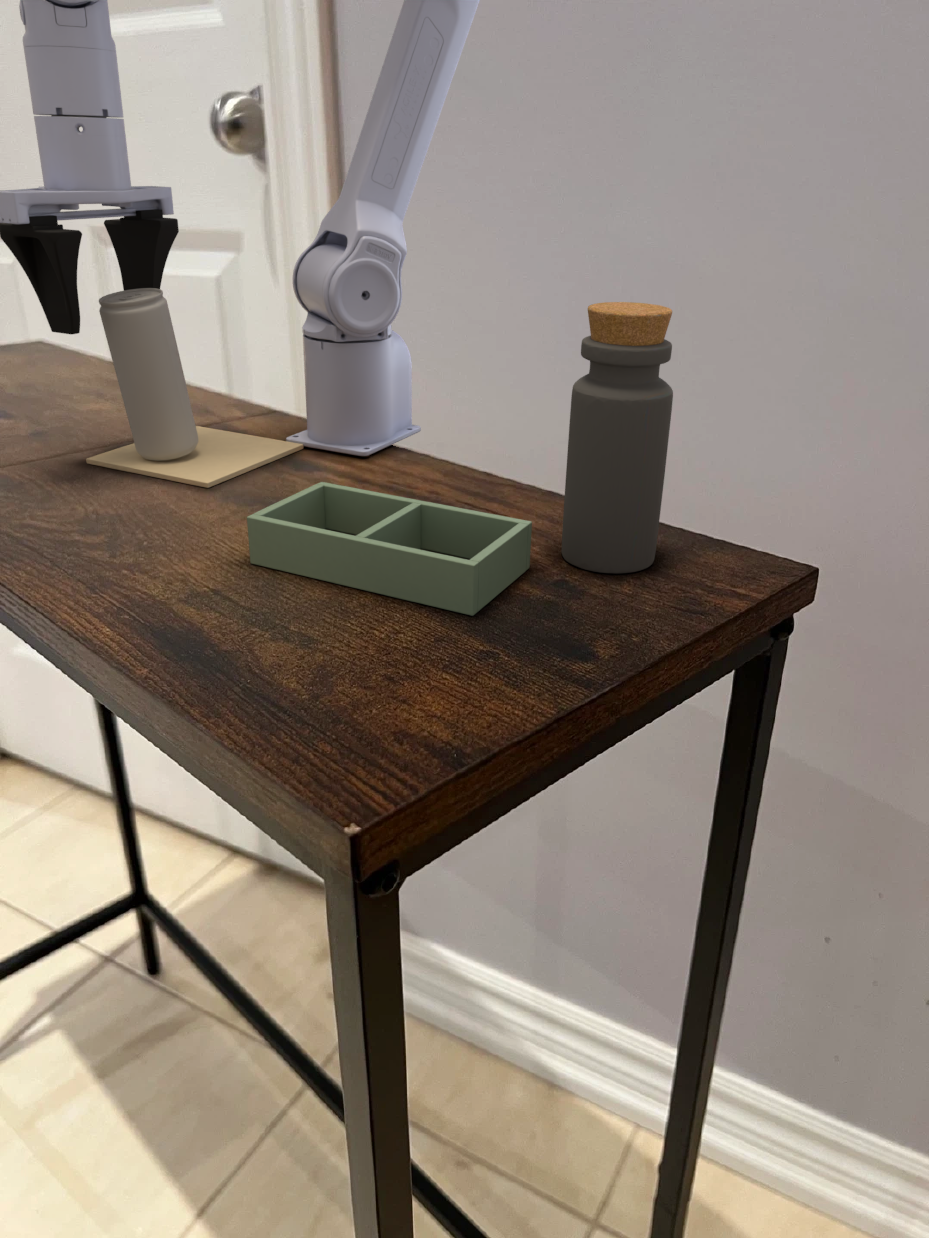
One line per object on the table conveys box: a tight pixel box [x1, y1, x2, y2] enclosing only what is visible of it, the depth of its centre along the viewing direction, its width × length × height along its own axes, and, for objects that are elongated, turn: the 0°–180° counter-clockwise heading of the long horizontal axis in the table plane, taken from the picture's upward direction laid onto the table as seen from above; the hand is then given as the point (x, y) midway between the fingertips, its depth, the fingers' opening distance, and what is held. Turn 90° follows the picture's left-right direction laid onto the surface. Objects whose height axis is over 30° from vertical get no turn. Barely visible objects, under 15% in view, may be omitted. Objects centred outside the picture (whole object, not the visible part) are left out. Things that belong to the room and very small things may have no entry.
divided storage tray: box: [246, 481, 533, 617], centre depth 59 cm, size 8×15×3 cm, turn 63°
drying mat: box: [85, 425, 304, 489], centre depth 79 cm, size 12×12×1 cm
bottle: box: [561, 301, 674, 575], centre depth 58 cm, size 6×6×15 cm
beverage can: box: [98, 288, 198, 461], centre depth 75 cm, size 5×5×12 cm
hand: (106, 325), depth 72 cm, fingers open, 7 cm apart
